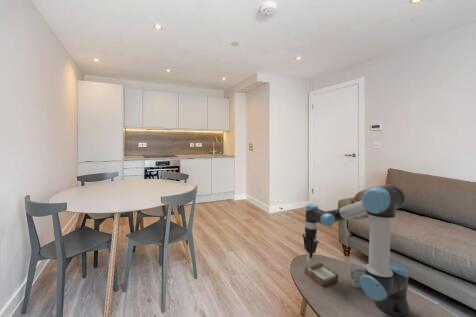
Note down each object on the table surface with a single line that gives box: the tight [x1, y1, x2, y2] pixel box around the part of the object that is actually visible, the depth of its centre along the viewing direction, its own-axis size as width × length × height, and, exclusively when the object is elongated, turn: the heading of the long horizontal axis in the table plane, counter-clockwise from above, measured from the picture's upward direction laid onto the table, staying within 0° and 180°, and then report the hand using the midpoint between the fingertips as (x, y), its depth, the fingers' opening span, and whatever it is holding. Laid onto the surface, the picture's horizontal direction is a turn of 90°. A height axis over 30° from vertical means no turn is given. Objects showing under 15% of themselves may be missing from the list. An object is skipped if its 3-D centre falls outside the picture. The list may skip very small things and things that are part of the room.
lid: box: [308, 262, 336, 281], centre depth 140 cm, size 13×11×4 cm
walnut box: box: [304, 262, 339, 288], centre depth 140 cm, size 15×13×4 cm
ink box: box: [349, 264, 366, 289], centre depth 133 cm, size 9×5×12 cm, turn 84°
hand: (309, 261), depth 150 cm, fingers closed
